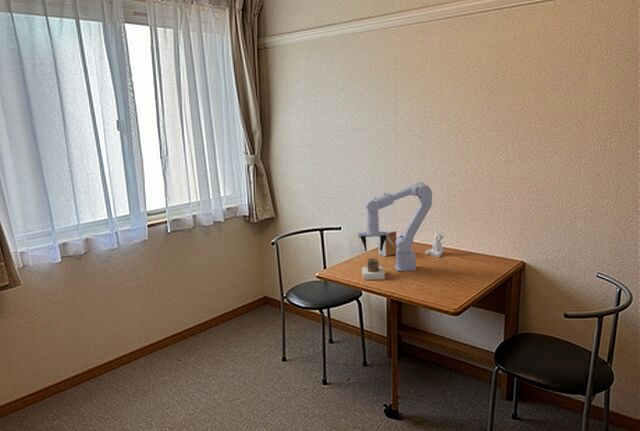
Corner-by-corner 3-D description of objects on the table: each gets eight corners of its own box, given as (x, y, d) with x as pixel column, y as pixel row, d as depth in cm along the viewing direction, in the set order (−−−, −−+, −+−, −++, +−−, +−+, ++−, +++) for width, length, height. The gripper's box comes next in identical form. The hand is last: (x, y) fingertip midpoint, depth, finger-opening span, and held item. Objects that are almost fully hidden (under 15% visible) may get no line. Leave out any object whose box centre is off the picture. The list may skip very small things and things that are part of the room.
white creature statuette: (424, 254, 255) (424, 232, 253) (434, 250, 260) (434, 229, 258) (438, 257, 248) (438, 236, 245) (448, 254, 253) (448, 233, 250)
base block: (382, 271, 231) (382, 266, 230) (384, 279, 221) (384, 273, 220) (362, 272, 231) (362, 266, 230) (363, 279, 221) (363, 273, 221)
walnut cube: (377, 267, 228) (377, 258, 227) (378, 271, 223) (378, 261, 222) (367, 268, 228) (367, 258, 227) (368, 271, 223) (367, 261, 222)
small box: (385, 256, 254) (385, 233, 251) (378, 254, 259) (377, 231, 256) (396, 253, 258) (396, 230, 256) (389, 251, 264) (388, 228, 261)
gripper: (386, 221, 233) (386, 247, 236) (357, 222, 233) (358, 248, 236) (388, 224, 226) (388, 251, 229) (358, 226, 226) (359, 253, 229)
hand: (373, 250), depth 232 cm, fingers open, 7 cm apart
